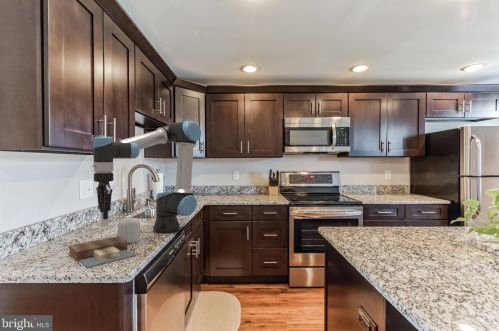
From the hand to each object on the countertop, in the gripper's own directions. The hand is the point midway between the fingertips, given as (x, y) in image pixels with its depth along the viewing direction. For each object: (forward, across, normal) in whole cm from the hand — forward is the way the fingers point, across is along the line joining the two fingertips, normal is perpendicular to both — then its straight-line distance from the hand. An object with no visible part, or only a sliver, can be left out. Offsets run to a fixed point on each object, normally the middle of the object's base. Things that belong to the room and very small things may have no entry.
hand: (104, 226), depth 115 cm
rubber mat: (+13, +6, -1) cm, 14 cm away
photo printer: (+13, -11, +14) cm, 22 cm away
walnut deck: (+13, -6, -1) cm, 14 cm away
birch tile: (+12, +4, -1) cm, 13 cm away
